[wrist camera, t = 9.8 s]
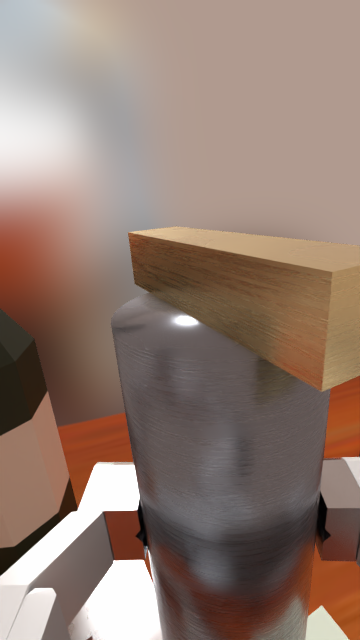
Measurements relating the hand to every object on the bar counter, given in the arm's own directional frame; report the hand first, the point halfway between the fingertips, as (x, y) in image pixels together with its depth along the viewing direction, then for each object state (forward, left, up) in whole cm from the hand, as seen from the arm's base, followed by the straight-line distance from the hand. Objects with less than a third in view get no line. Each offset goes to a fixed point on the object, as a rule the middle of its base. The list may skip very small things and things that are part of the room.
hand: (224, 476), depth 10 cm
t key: (+1, 0, -6) cm, 7 cm away
